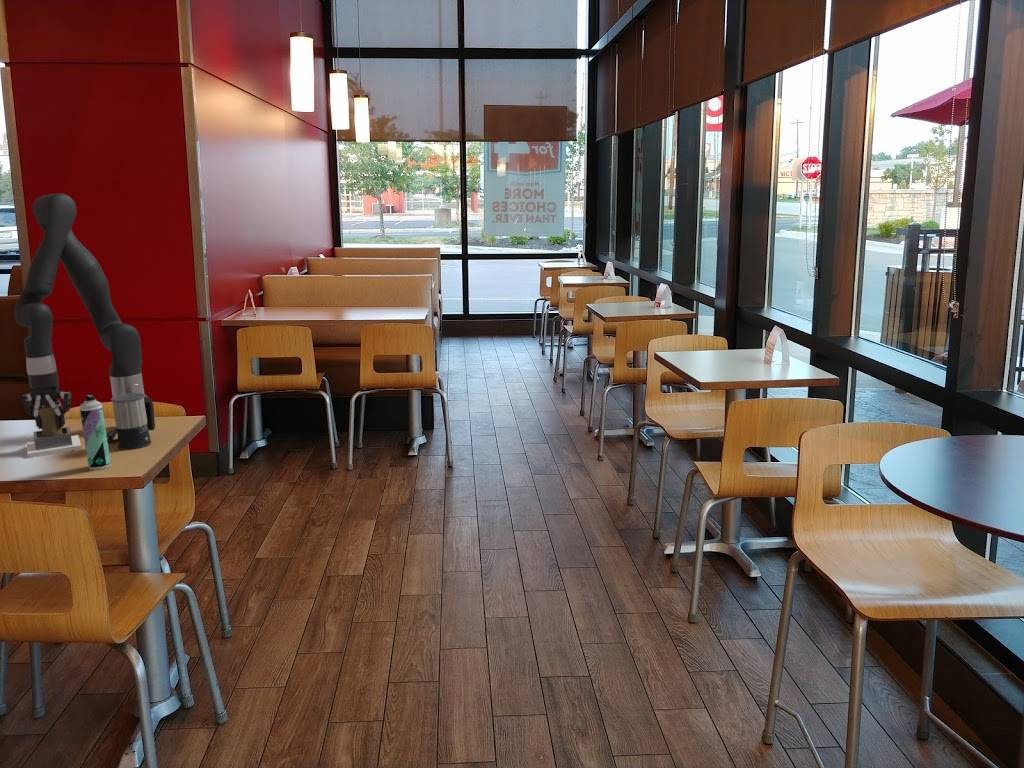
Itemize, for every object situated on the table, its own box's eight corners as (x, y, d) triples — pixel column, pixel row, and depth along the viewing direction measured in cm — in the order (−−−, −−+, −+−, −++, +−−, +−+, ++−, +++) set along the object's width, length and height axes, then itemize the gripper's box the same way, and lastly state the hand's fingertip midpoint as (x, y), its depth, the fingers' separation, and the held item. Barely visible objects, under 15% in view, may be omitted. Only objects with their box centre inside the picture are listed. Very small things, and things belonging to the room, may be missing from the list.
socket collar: (70, 437, 274) (68, 426, 273) (72, 444, 266) (70, 433, 265) (35, 443, 270) (33, 431, 269) (35, 450, 261) (33, 439, 261)
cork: (55, 445, 264) (49, 408, 262) (37, 445, 265) (31, 408, 263) (69, 439, 270) (63, 403, 268) (51, 439, 271) (45, 403, 269)
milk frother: (144, 449, 262) (138, 399, 259) (89, 452, 262) (82, 402, 259) (161, 436, 276) (155, 388, 273) (108, 438, 276) (101, 391, 273)
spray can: (93, 464, 249) (82, 393, 245) (113, 463, 249) (103, 392, 245) (85, 470, 244) (74, 398, 239) (106, 469, 244) (96, 397, 240)
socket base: (78, 438, 277) (78, 435, 277) (81, 449, 265) (81, 445, 265) (27, 446, 271) (26, 442, 271) (27, 457, 259) (27, 453, 258)
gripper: (72, 367, 267) (81, 423, 271) (22, 370, 266) (32, 425, 270) (61, 372, 260) (70, 429, 263) (10, 375, 259) (20, 432, 263)
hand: (51, 427), depth 267 cm, fingers open, 5 cm apart
